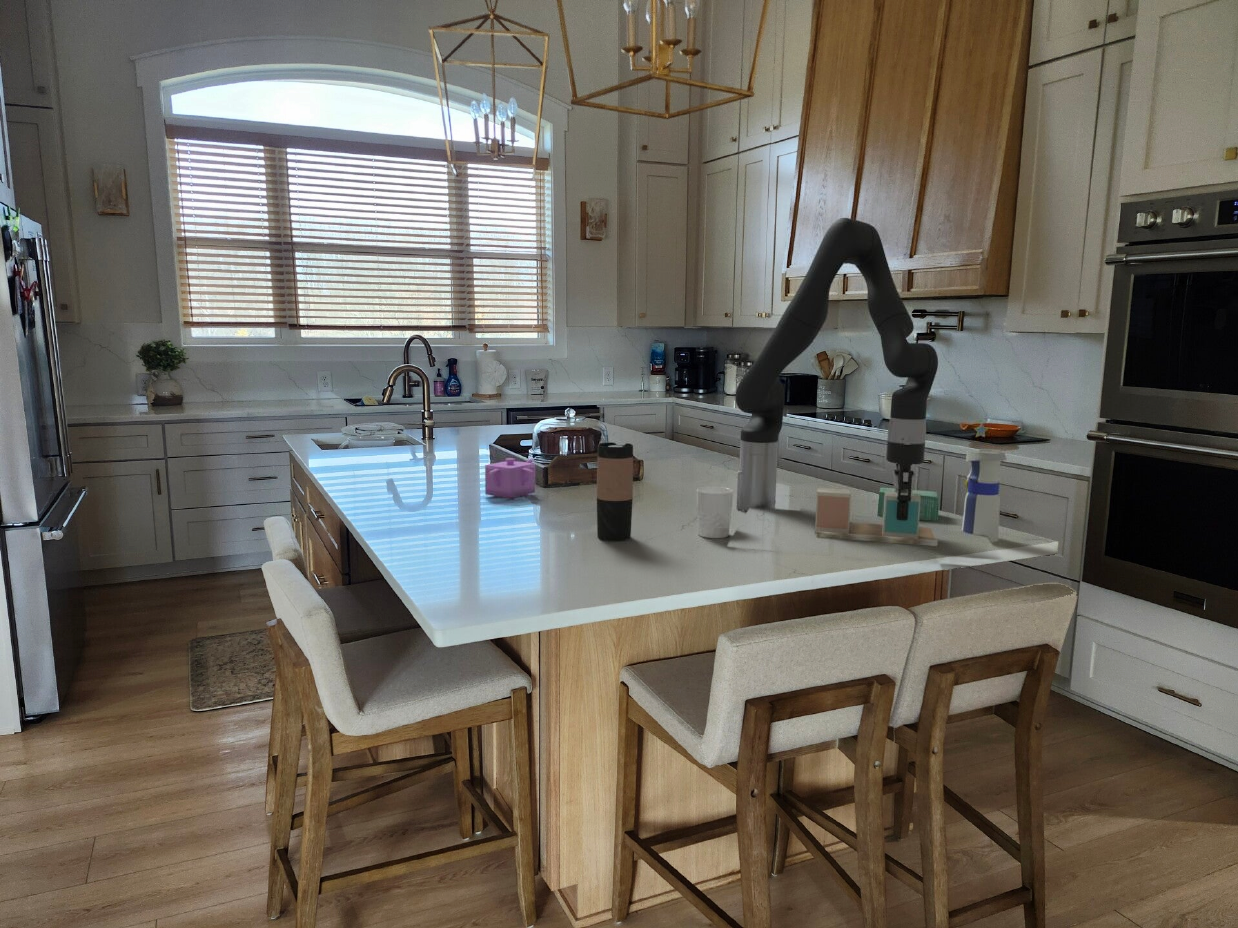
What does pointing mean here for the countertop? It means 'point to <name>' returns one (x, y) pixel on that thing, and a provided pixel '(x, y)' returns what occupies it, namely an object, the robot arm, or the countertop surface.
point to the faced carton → (833, 510)
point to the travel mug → (614, 491)
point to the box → (927, 505)
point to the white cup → (714, 511)
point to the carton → (901, 527)
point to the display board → (880, 535)
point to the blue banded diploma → (983, 492)
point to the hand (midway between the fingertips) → (900, 515)
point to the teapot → (510, 478)
